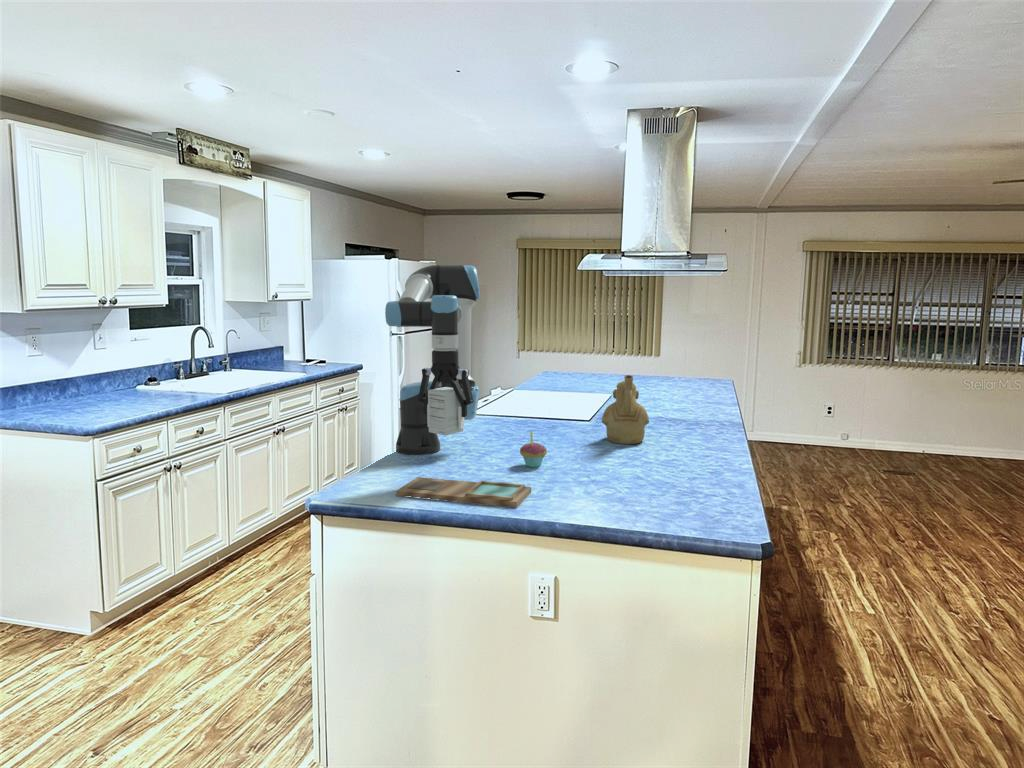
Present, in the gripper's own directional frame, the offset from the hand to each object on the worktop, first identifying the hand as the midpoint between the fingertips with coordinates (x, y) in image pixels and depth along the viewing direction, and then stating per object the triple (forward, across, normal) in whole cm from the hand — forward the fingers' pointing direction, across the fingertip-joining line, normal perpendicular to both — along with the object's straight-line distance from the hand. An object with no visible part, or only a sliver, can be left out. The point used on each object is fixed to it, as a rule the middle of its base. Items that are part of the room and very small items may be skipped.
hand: (445, 426), depth 205 cm
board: (+16, +10, -12) cm, 22 cm away
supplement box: (+2, 0, 0) cm, 2 cm away
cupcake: (+16, +20, +23) cm, 34 cm away
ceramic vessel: (+16, +42, +66) cm, 80 cm away
